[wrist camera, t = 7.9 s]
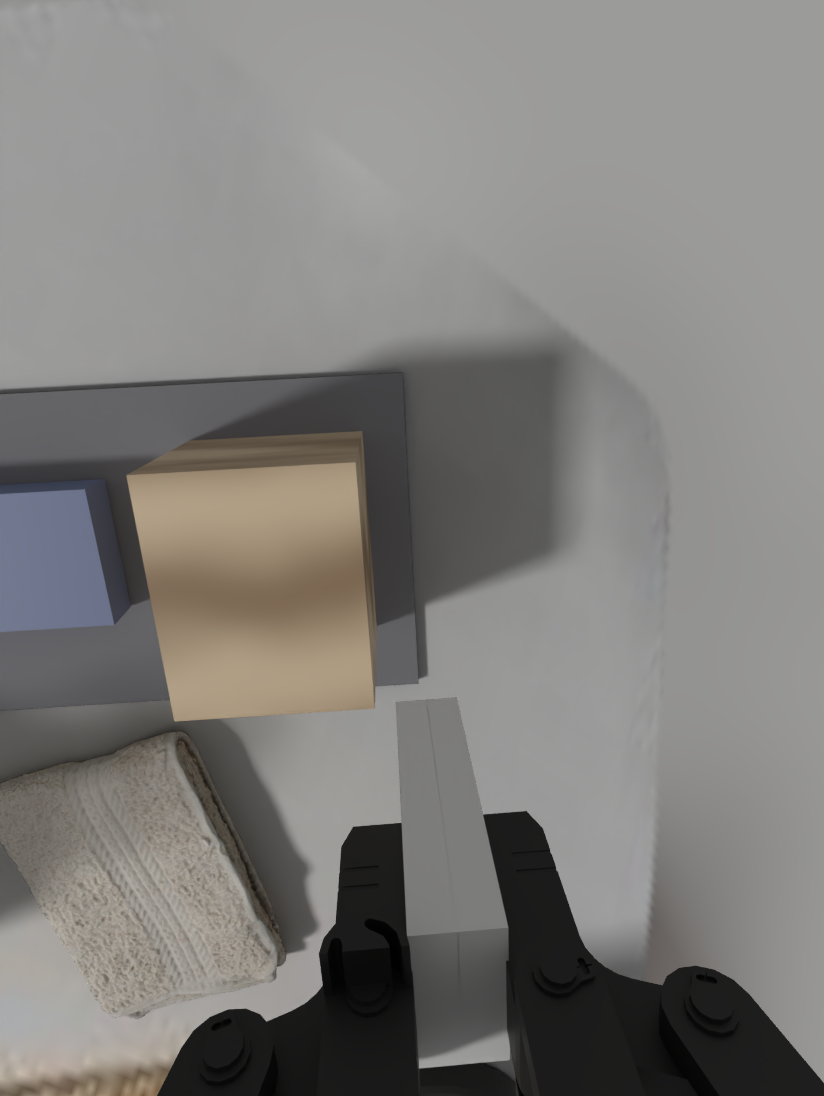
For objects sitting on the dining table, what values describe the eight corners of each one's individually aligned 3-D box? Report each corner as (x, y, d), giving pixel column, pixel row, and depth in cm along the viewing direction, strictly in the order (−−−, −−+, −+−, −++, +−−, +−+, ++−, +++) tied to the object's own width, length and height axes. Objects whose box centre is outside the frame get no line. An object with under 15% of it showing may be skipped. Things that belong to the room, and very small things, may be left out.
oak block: (376, 622, 33) (374, 708, 26) (222, 632, 33) (174, 721, 26) (362, 429, 30) (355, 462, 23) (191, 439, 30) (126, 475, 22)
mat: (418, 679, 34) (418, 683, 34) (-34, 708, 34) (-39, 713, 34) (402, 372, 29) (402, 373, 29) (-131, 400, 29) (-138, 401, 28)
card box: (-82, 637, 30) (-51, 617, 32) (114, 625, 30) (132, 605, 32) (-126, 501, 28) (-90, 489, 30) (84, 489, 28) (105, 478, 30)
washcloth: (128, 992, 42) (109, 1042, 39) (-12, 774, 36) (-47, 813, 33) (301, 945, 41) (295, 992, 38) (186, 715, 35) (168, 749, 32)
